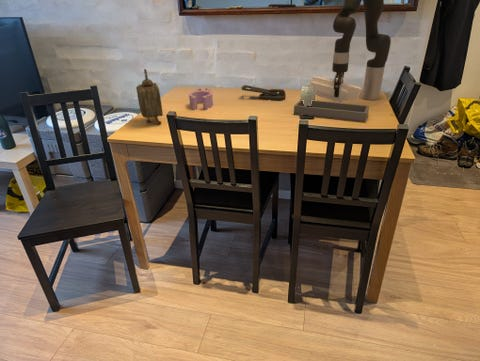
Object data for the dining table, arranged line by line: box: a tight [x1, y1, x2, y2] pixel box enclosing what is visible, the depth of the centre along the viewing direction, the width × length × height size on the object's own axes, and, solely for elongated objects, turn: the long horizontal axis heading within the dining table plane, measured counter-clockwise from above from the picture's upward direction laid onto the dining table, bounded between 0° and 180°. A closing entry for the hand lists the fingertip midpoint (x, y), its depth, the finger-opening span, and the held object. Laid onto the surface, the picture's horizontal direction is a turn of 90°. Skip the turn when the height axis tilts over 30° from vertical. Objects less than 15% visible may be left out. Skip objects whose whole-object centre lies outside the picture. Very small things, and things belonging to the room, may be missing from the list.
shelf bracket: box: [309, 75, 363, 103], centre depth 180 cm, size 6×25×13 cm, turn 71°
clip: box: [188, 87, 214, 111], centre depth 191 cm, size 20×12×7 cm, turn 179°
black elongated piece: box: [241, 84, 287, 102], centre depth 199 cm, size 9×7×25 cm
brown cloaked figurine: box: [135, 68, 164, 125], centre depth 164 cm, size 14×9×25 cm, turn 21°
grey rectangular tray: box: [293, 98, 370, 124], centre depth 171 cm, size 12×34×4 cm, turn 66°
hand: (337, 95), depth 180 cm, fingers closed on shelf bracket, 5 cm apart
